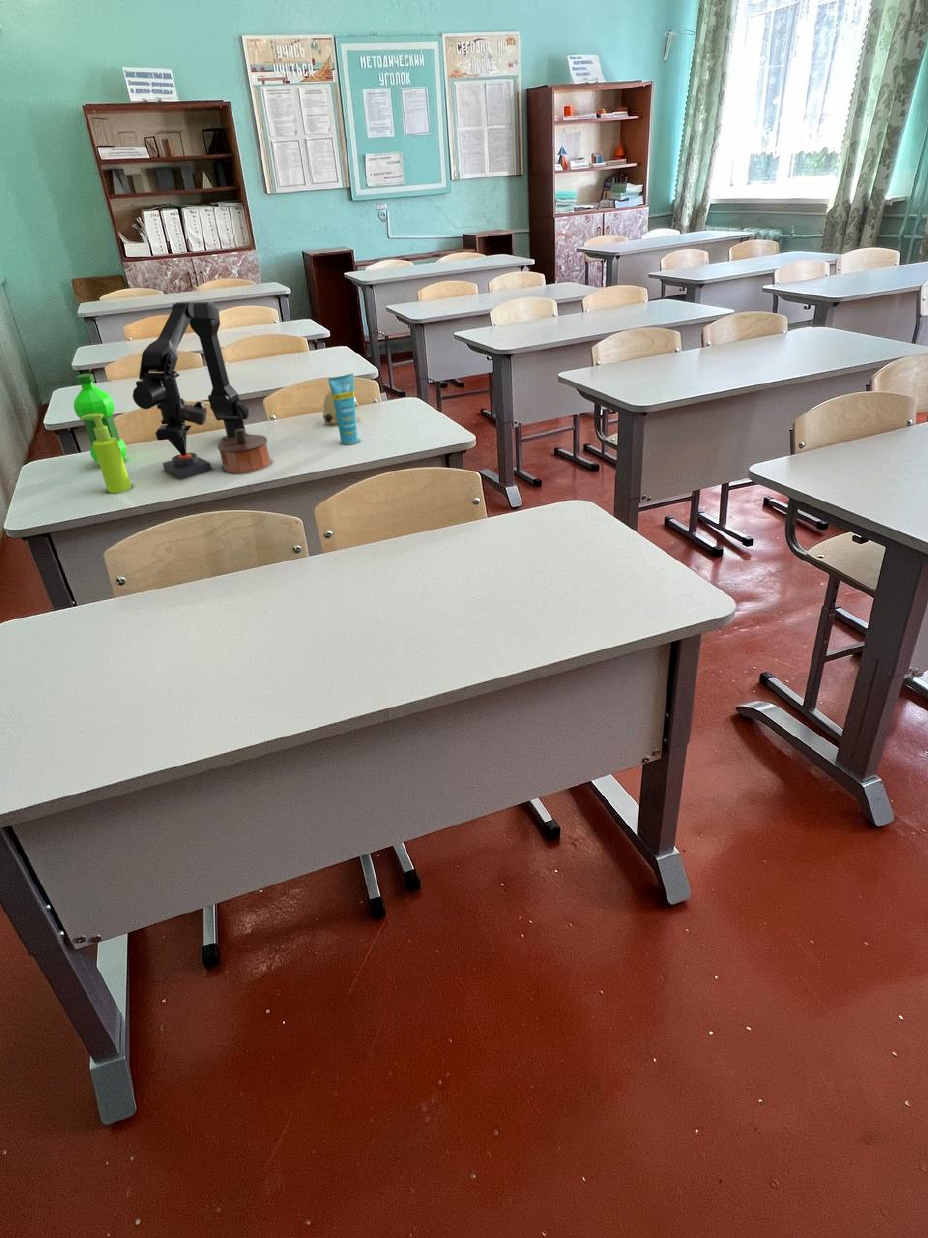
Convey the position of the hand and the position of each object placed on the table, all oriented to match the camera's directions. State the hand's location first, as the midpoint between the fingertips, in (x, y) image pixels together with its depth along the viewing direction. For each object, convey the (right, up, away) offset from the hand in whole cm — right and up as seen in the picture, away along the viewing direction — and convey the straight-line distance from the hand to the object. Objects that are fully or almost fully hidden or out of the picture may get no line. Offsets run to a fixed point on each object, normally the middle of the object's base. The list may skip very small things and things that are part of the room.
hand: (184, 454), depth 208 cm
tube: (+43, +7, +15) cm, 46 cm away
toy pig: (+38, +17, +33) cm, 53 cm away
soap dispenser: (-15, -11, -7) cm, 20 cm away
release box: (0, -4, +2) cm, 4 cm away
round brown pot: (+17, -2, +3) cm, 17 cm away
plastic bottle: (-25, 0, +12) cm, 28 cm away
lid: (+16, +3, 0) cm, 16 cm away
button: (0, -2, +1) cm, 2 cm away
